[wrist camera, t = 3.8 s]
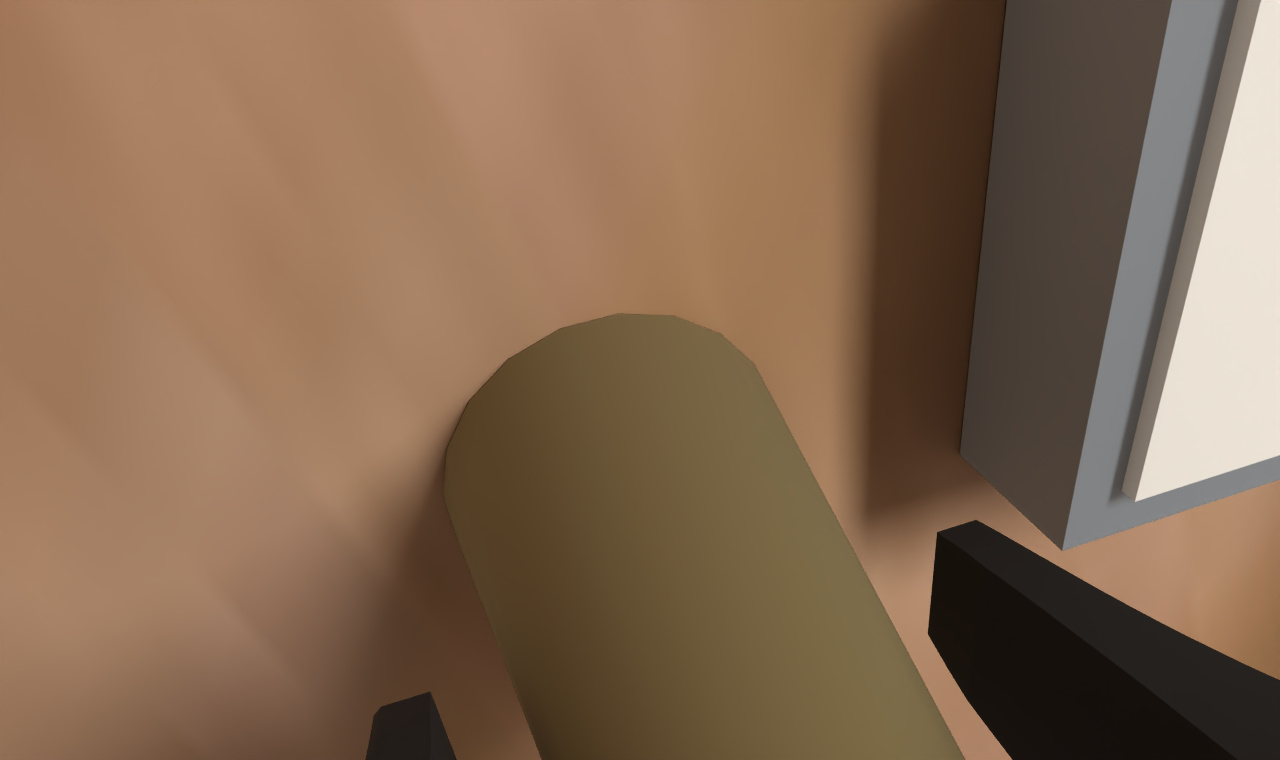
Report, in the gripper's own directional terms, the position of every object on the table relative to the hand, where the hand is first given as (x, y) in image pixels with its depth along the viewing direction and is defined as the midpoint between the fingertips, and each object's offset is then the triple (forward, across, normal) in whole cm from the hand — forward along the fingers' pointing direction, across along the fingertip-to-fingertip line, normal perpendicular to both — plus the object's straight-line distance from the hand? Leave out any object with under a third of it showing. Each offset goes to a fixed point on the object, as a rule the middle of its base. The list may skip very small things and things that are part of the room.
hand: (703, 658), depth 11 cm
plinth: (+4, -12, -3) cm, 13 cm away
